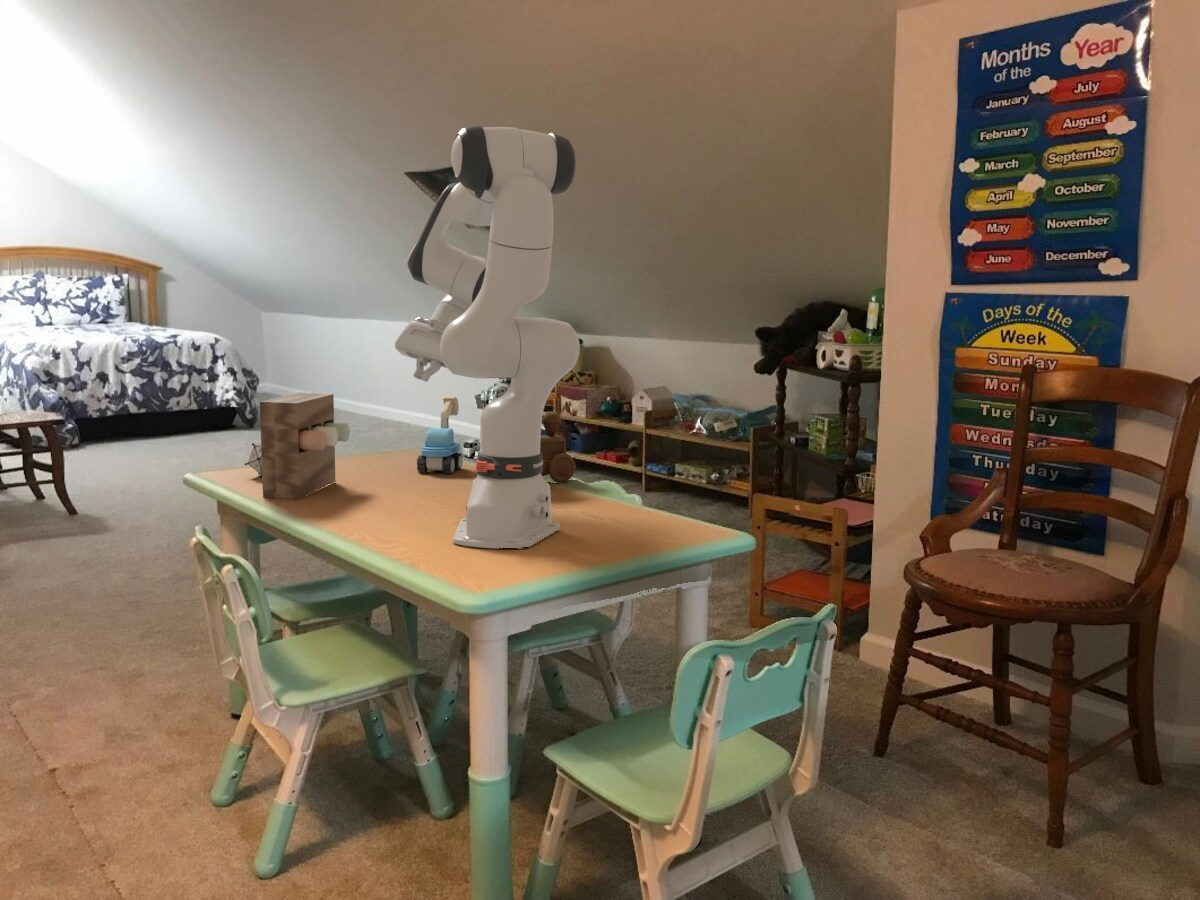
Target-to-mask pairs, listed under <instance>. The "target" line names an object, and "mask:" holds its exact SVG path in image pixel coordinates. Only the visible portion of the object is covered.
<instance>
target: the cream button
mask: <svg viewBox="0 0 1200 900" xmlns="http://www.w3.org/2000/svg"><path fill="white" fill-rule="evenodd" d="M311 431H324V432H325V434H326V446H335V447H336V445H337V443H338V442H339V441H338V430H337V428H336V427H319V426H311Z"/></svg>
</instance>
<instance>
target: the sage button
mask: <svg viewBox="0 0 1200 900" xmlns="http://www.w3.org/2000/svg"><path fill="white" fill-rule="evenodd" d="M323 424H324V427H336V428H337V430H338V442H344V443H345V442H348V441H349V437H350V426H349V424H348V423H345V422H343V423H341V422H334V423H325V422H323Z"/></svg>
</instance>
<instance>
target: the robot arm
mask: <svg viewBox="0 0 1200 900" xmlns="http://www.w3.org/2000/svg"><path fill="white" fill-rule="evenodd" d="M451 147H452V148H451V153H450V155H451V156H450V159H451V167H452V170H453V173H454V178H455V179H456V180H457V181H458V182H452V183H450V184H448V185H447V186H446V188H445V189H444V190H443V191H442V193H441V194H440V196H439V197H438V198H437V200H436V202H435V204H434V206H433V208H432V210H431V213H430V214H429V217H428V219H427V221H426V223H425V226H424V227H423V230H422V232H421V234H420V236H419V238H418V240H417V242H416V243H415V244H414V246H413V248H412V249H411V251H410V253H409V256H408V260H407V268H408V270H409V273H410V275H411V277H412V278H413V280H414V281H417V282H419V283H421V284H424V285H426V286H430V287H432V288H434V289H436V290H438V291H441V292H443V293H445V296H444V297H443V298H442V299H441V300H440V302H439V303H438V304H437V306H436V308H435V310H434V311H433V313H432V315H431V317H430V318H424V317H421V316H418V317H417V318H414V319H412V320H411V321H410V322H409V323H408V324H407V325H406V326H405V327H404V329H403V330H402V331H401V333H400V334H399V336H398V337H397V339H396V340H395V342H394V348H395V350H396V351H397V352H399V354H400V355H402V356H405V357H408V358H412V359H415V360H416V366H415V367H416V370H414V372H413V377H414V378H415V380H419V381H423V382H426V383H427V382H429V380H430V378H431V377H432V376H433V375H435V374H436V373H437V372H439V371H440V369H441V367H442V368H445V369H448V372H450V373H451V374H452V375H457V376H461V377H466V378H472V379H511V380H510V384H509V387H508V389H507V390H506V391H505V393H504V394H503V395H501V396H499V397H496V398H495V399H493V400H491V401H490V402H489V403H488V404H486V405H485V406H484V408H483V409H482V412H481V413H480V416H479V417H480V419H479V422H480V423H479V425H480V428H479V429H480V434H479V435H480V440H479V441H480V442H479V443H480V444H479V445H480V447H479V448H480V449H479V452H478V454H477V459H476V461H475V472H476V474H477V476H476V478H474V480H472V486H471V490H470V495H469V498H468V502H467V505H466V507H465V508H466V509H465V511H466V517H463V518H461V519H460V522H459V524H458V526H457V528H456V530H455V533H454V536H453V539H452V540H453V541H452V543H453V544H455V545H460V546H464V547H472V548H485V549H499V548H501V550H503V549H502V548H517V549H522V548H521V547H529V546H531V545H533V544H535V543H536V542H538V543H540V542H541V541H543V540H545V539H546V538H545V537H547V536H548V535H550V534H552V533H553V532H555V531H557V530H558V529H560V524H559V523H558V522H555V521H552V503H551V502H552V501H551V485H550V484H549V483H548V482H547V481H546V479H544V476H542V475H541V472H542V471H543V459H542V453H541V452H540V438H541V435H542V425H543V423H542V418H543V416H544V415H543V414H544V410H545V405H546V403H547V400H548V398H549V396H550V394H551V392H552V390H553V389H554V388H555V387H556V385H557V384H558V382H559V381H561V380H562V378H564V377H565V376H566V375H568V373H570V372H571V371H572V370H573V368H574V367H575V366H576V365H577V362H578V359H579V356H580V351H581V350H580V349H581V348H580V346H581V345H580V340H579V336H578V334H577V332H576V330H575V329H574V327H573V326H572V325H571V324H570V323H569V322H567V321H566V322H565V321H562V320H558V319H552V318H547V317H516V315H517V314H518V312H519V311H520V310H521V309H522V308H523V307H524V305H526V304H528V303H530V302H532V301H534V300H536V299H538V298H539V297H540V296H542V295H543V294H544V292H545V291H546V289H547V287H548V285H549V281H550V270H551V262H552V252H553V240H554V227H555V226H554V225H555V223H554V204H553V195H559V194H563V193H565V192H566V191H567V190H568V189H569V188H570V186H571V185H572V183H573V181H574V178H575V173H576V167H577V166H576V165H577V162H576V159H577V158H576V152H575V149H574V146H573V144H572V143H571V141H570V140H569V139H568V138H567V137H564V136H562V135H559V134H556V133H553V132H549V133H543V132H539V131H534V130H528V129H521V128H518V127H512V126H511V127H510V126H487V127H485V126H484V127H483V126H482V125H471V126H465V127H463V128H461V129H460V130H459V132H458V133H457V134H456V135H455V138H454V141H453V144H452V146H451ZM451 223H461V224H468V225H472V226H477V227H489V234H488V235H489V237H488V247H487V255H486V256H487V257H486V258H485V257H483V256H480V255H473V254H470V253H468V252H467V251H464V250H463V249H460V248H458V247H456V246H454V245H452V244H450V243H449V242H448V241H447V240H445V238H444V236H445V235H446V232H447V230H448V228H449V226H450V224H451ZM428 364H429V365H430V366H428ZM427 366H428V367H427ZM425 367H427V368H426V369H424V368H425ZM558 531H559V530H558ZM558 531H557V532H558ZM555 533H556V532H555ZM553 534H554V533H553ZM553 534H552V535H553ZM550 536H551V535H550ZM548 537H549V536H548ZM548 537H547V538H548ZM544 538H545V539H544ZM542 539H543V540H542ZM540 540H541V541H540ZM539 541H540V542H539ZM536 544H537V543H536ZM536 544H535V545H536ZM533 546H534V545H533ZM531 547H532V546H531ZM529 548H530V547H529Z"/></svg>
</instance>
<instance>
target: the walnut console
mask: <svg viewBox="0 0 1200 900" xmlns="http://www.w3.org/2000/svg"><path fill="white" fill-rule="evenodd" d="M334 397H335V396H334V394H333V393H313V392H312V393H309V392H297V393H292V394H289V395H283V396H279V397H275V398H271V399H265V400H263V401H259V415H260V416H259V419H260V422H259V423H260V445H261V452H262V479H261V480H262V481H261V482H262V497H263V498H268V497H275V498H274V499H285V498H289V500H300V498H301V499H303V498H305V497H307V496H306V495H308V494H310V493H312V494H314V493H316V492H317V491H316V490H318V489H320V488H322V487H325V486H326V485H328V484H331V483H333V482H335V483H336V449H335V448H336V445H335V446H325V448H324V450H303V449H299V434H298V430H308V431H311V426H319V427H324V424H323V422H325V423H335V405H334V404H335V403H334V402H335V401H334ZM331 485H332V484H331ZM325 488H326V487H325ZM315 491H316V492H315ZM318 491H319V490H318ZM313 492H314V493H313ZM310 495H311V494H310ZM304 496H305V497H304ZM308 496H309V495H308ZM302 497H303V498H302Z"/></svg>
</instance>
